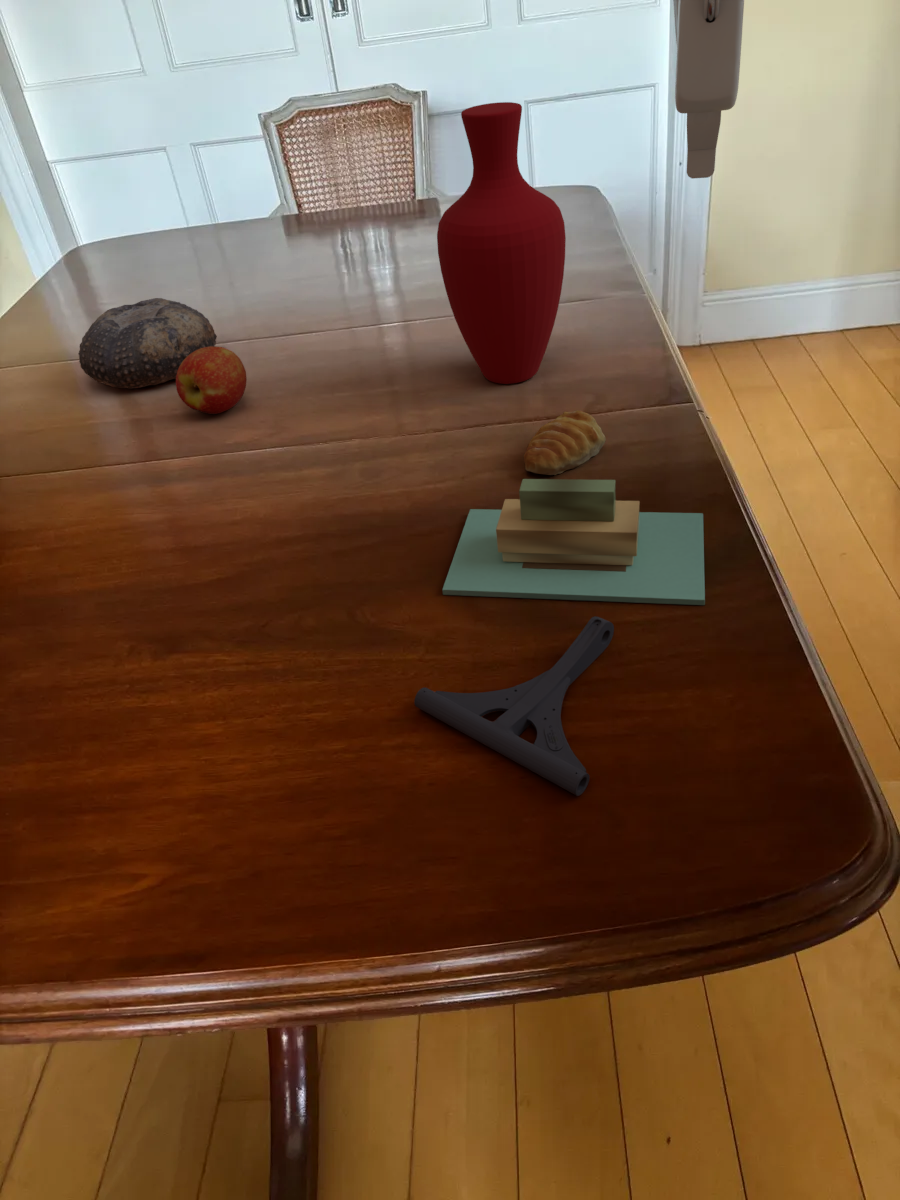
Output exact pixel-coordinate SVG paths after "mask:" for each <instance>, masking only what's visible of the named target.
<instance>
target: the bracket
mask: <svg viewBox="0 0 900 1200" xmlns="http://www.w3.org/2000/svg"><path fill="white" fill-rule="evenodd" d="M614 632H615V626H614V624H613V622H611V621H610V620H607V619H605V618H602V617H600V616H591V617H590V619H589V620H588V622H587V623H586V624H585V626H584V628H583V629H582V630H581V631H580V633H578V636H577V637H576V638H575V639H574V640H573V642H572V643H571V644H570V645H569V647H568V648H567V650H566V651H565V652H564V653H563V655H562V656H561V657H560V658H559V659H558V660H557V662H556V663H555V664H554V665H553V666H552V667H551V668H550V669H548V670H545V671H544V672H543V673H541V674H539V675H537V676H534V677H533V678H532V679H529V680H527V681H525V682H522V683H519V684H516V685H514V686H512V687H508V688H502V689H497V690H491V691H483V692H452V691H444V690H436V691H434V690H432V689H430V688H428V687H421V688H420V689H419V690H418V691H417V693H416V694H415V697H414V700H413V701H414V702H413V703H414V706H415V707H416V708H418V709H420V710H421V711H423V712H425V713H426V714H428V715H431V716H432V717H434V718H436V719H437V720H439V721H441V722H443V723H445V724H446V725H448V726H450V727H451V728H454V729H455V730H457V731H459V732H460V733H463V734H464V735H466V736H468V737H470V738H472V739H474V741H475V740H476V741H477V742H479V743H481V744H483V745H484V746H486V747H488V748H489V749H491V750H493V751H495V752H496V753H498V754H500V755H502V756H504V757H506V758H508V759H509V760H511V761H512V762H513V761H514V762H515V763H517V764H519V765H520V766H522V767H524V768H526V769H528V770H530V771H531V772H533V773H535V774H536V775H538V776H540V777H542V778H544V779H546V780H548V781H549V782H551V783H553V784H554V785H556V786H558V787H560V788H562V789H563V790H565V791H568V792H569V793H570V794H572V795H575V796H576V797H579V796H581V795H582V794H583V793H584V792H585V791H586V789H587V787H588V786H589V782H590V779H591V778H590V777H591V776H590V774H589V773H588V772H587V769H586V767H585V766H584V765H583V763H582V762H581V761H580V759H579V758H578V757H577V756H576V754H575V753H574V751H573V750H572V748H571V746H570V744H569V741H568V740H567V738H566V734H565V732H564V728H563V723H562V717H561V714H562V709H563V708H562V707H563V702H564V699H565V695H566V693H567V691H568V688H569V686H571V685H572V684H573V683H574V682H575V681H576V680H577V679H578V677H580V676H581V674H583V672H584V671H585V670H587V669H588V668H589V667H590V666H591V664H592V663H594V662H595V660H597V659H598V657H600V656H601V655H602V654H603V653H604V652H605V650H606V649H607V648H608V647H609V645H610V643H611V641H612V639H613V637H614ZM494 712H495V713H496V712H504V713H502V714H501V715H500V716H498V717H497V718H496V719H495V720H494V721H491V720H489V719H487V718H485V717H483V716H485V715H488V714H490V713H494ZM531 725H532V726H533V728H534V729H535V731H536V738H535V741H534V742H533V743H531V742H529V741H528V740H526V739H524V738H522V737H521V736H520V735H521V734H522V733H524V731H526V730H527V729H528V728H529V727H530V726H531Z"/></svg>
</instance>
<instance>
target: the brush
mask: <svg viewBox="0 0 900 1200" xmlns="http://www.w3.org/2000/svg"><path fill="white" fill-rule="evenodd" d="M616 482H617V481H616V479H577V478H576V479H575V478H574V479H572V478H571V479H567V478H565V479H564V478H522V480H521V483H520V485H519V490H518V494H519V498H505V499H504V500H503V505H502V507H501V510H502V511H501V514H500V517H499V521H498V524H497V528H496V535H497V546H498V552H502V556H503V561H504V562H534V563H567V564H599V565H633V560H634V556H637V545H638V532H639V512H640V506H641V505H640V503H641V502H640V500H616V484H617V483H616Z"/></svg>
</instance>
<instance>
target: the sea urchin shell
mask: <svg viewBox="0 0 900 1200" xmlns="http://www.w3.org/2000/svg"><path fill="white" fill-rule="evenodd" d="M217 338H218V335H217V333H216V332H215V329H214V326H213V325H212V324H211V322H210V320H209V318H207V317H206V316H205V315H204V314H203V313H202V312H200V311H199V310H198V309H194V308H193V307H191V306H189V305H187V304H186V303H181V302H180V301H175V300H170V299H166V298H162V297H154V298H150V299H145V300H140V301H138V302H136V303H134V304H123V305H121V306H117V307H112V308H109V309H107V310H105V311H104V312H103V313H102V314H101V315H99V316H98V317H97V318H96V319H95V321H93V322H92V323H91V324H90V326H89V328H88V330H87V331H86V332H85V334H84V335H83V336H82V338H81V342H80V344H79V351H78V357H79V359H78V362H79V364H80V368H81V370H82V371H83V372H84V374H86V375H87V376H88V377H89V378H90V379H92V380H94V381H95V382H96V383H98V384H99V383H101V384H103V385H106V386H110V387H113V388H117V389H129V390H131V389H140V388H146V387H148V386H157V385H159V384H164V383H166V382H169V381H172V380H176V375H177V371H178V368H179V366H180V365H181V363H182V362H183V360H184V359H185V358H186V357H187V356H188V355H190V354H191V353H192V352H194V351H196V350H198V349H200V348H204V347H210V346H213V347H216V343H217Z"/></svg>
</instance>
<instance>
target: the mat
mask: <svg viewBox="0 0 900 1200" xmlns="http://www.w3.org/2000/svg"><path fill="white" fill-rule="evenodd" d="M501 511H502V509H487V508H486V509H485V508H484V509H482V508H470V509H469V511H468V514H467V517H466V519H465V523H464V526H463V528H462V531H461V534H460V538H459V540H458V543H457V547H456V549H455V552H454V555H453V558H452V561H451V563H450V566H449V569H448V572H447V575H446V578H445V580H444V583H443V587H442V589H441V590H442V595H443V596H464V597H491V598H515V599H536V600H537V599H538V600H539V599H540V600H562V601H588V602H591V601H592V602H609V603H610V602H613V603H633V604H634V603H639V604H659V605H661V604H663V605H664V604H665V605H686V606H705V605H706V589H705V587H706V586H705V585H706V584H705V583H706V582H705V581H706V579H705V542H704V541H705V539H704V538H705V537H704V536H705V533H704V513H703V512H660V511H659V512H653V511H639V532H638V545H637V556H634V560H633V565H599V564H567V563H534V562H504V561H503V556H502V552H498V546H497V535H496V528H497V524H498V521H499V517H500V514H501Z"/></svg>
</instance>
